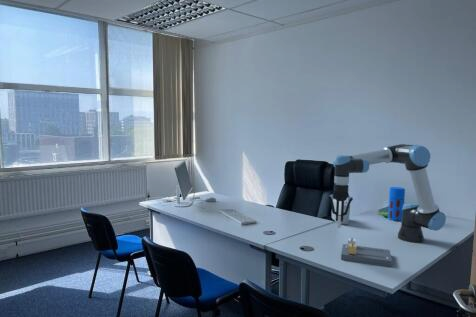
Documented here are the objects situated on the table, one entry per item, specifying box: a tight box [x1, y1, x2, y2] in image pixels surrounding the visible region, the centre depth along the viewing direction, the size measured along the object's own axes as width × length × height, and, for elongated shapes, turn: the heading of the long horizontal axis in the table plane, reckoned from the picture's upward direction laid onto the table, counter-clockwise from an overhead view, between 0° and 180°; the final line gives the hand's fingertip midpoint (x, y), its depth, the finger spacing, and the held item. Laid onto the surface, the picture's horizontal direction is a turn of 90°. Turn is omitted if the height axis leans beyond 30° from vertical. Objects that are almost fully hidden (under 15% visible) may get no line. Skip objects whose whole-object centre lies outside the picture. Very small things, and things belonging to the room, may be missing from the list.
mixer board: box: [340, 243, 393, 268], centre depth 191 cm, size 25×18×3 cm
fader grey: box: [347, 237, 357, 248], centre depth 198 cm, size 4×5×4 cm
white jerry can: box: [331, 198, 351, 226], centre depth 264 cm, size 22×8×25 cm, turn 4°
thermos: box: [387, 186, 406, 222], centre depth 274 cm, size 11×11×25 cm
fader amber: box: [348, 243, 358, 255], centre depth 189 cm, size 4×5×4 cm
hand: (339, 226), depth 190 cm, fingers closed
